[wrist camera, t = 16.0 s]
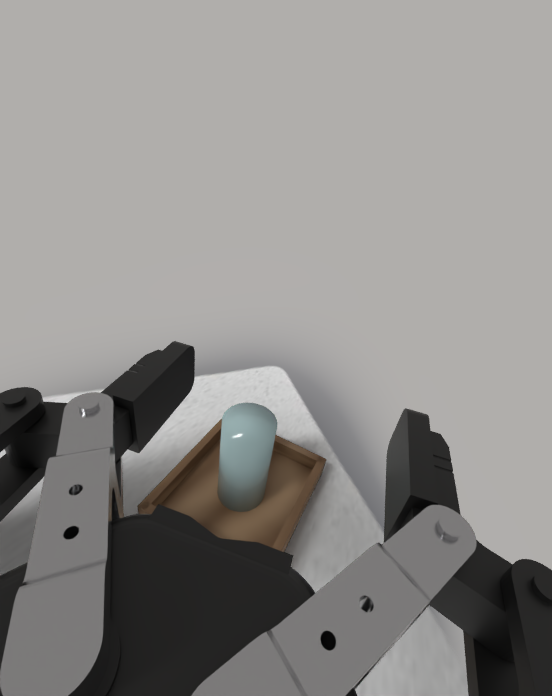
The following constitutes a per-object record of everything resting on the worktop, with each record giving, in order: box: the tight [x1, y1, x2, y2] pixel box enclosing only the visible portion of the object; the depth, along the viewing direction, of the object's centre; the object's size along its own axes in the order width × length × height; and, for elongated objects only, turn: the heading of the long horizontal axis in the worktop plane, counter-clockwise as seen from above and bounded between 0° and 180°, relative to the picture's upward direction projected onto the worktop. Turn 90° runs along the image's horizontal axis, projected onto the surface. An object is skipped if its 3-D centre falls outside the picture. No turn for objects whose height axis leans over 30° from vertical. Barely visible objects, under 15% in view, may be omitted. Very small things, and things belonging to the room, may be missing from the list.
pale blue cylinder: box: [217, 403, 277, 512], centre depth 41 cm, size 6×6×12 cm
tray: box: [138, 419, 326, 552], centre depth 44 cm, size 16×18×3 cm
